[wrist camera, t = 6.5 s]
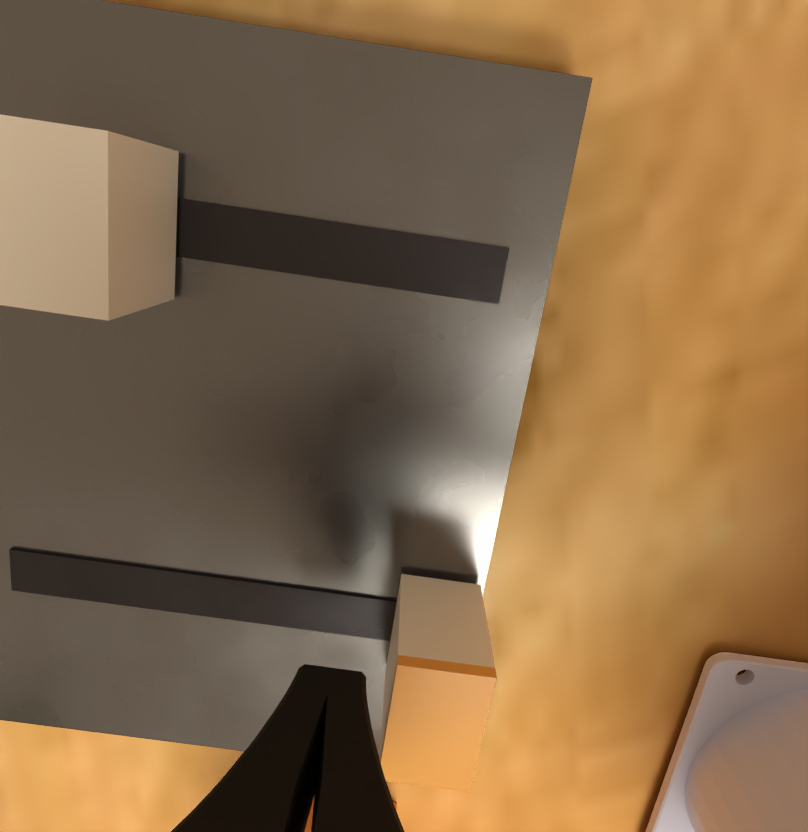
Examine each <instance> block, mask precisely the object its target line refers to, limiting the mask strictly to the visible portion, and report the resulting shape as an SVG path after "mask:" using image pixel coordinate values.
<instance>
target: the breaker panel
mask: <svg viewBox="0 0 808 832" xmlns="http://www.w3.org/2000/svg"><path fill="white" fill-rule="evenodd" d="M591 83H592V78H589V77H583V76H577V75H570V74H564V73H558V72H552V71H545V70H539V69H533V68H526V67H520V66H514V65H507V64H501V63H495V62H488V61H482V60H476V59H469V58H463V57H457V56H450V55H444V54H438V53H431V52H425V51H419V50H412V49H406V48H400V47H393V46H387V45H381V44H374V43H368V42H362V41H355V40H349V39H343V38H336V37H330V36H324V35H317V34H311V33H305V32H298V31H292V30H286V29H279V28H273V27H267V26H260V25H254V24H248V23H241V22H235V21H229V20H222V19H216V18H210V17H203V16H197V15H191V14H185V13H178V12H172V11H166V10H159V9H153V8H147V7H140V6H134V5H128V4H121V3H115V2H109V1H102V0H0V114H1V115H7V116H14V117H21V118H27V119H34V120H40V121H47V122H53V123H60V124H66V125H73V126H79V127H86V128H92V129H99V130H106V131H110V132H114V133H117V134H121V135H124V136H127V137H131V138H134V139H138V140H141V141H145V142H148V143H152V144H155V145H159V146H162V147H166V148H169V149H172V150H176V151H179V159H178V193H177V228H176V262H175V297H174V300H171V301H168V302H164V303H161V304H158V305H155V306H152V307H149V308H146V309H143V310H140V311H137V312H134V313H131V314H128V315H125V316H122V317H119V318H116V319H112V320H109V321H107V320H100V319H93V318H86V317H79V316H72V315H65V314H59V313H52V312H45V311H38V310H31V309H24V308H17V307H10V306H3V305H0V720H5V721H13V722H21V723H29V724H36V725H44V726H52V727H60V728H68V729H75V730H83V731H91V732H99V733H107V734H114V735H122V736H130V737H138V738H145V739H153V740H161V741H169V742H177V743H184V744H192V745H200V746H208V747H215V748H223V749H231V750H239V751H245V750H246V749H247V748H248V747H249V745H250V744H251V743H252V741H253V740H254V739H255V737H256V736H257V735H258V733H259V732H260V730H261V729H262V728H263V726H264V725H265V723H266V722H267V721H268V719H269V718H270V716H271V715H272V714H273V712H274V711H275V709H276V708H277V706H278V704H279V703H280V701H281V700H282V698H283V697H284V695H285V693H286V692H287V690H288V688H289V686H290V685H291V683H292V681H293V679H294V677H295V675H296V673H297V671H298V669H299V667H301V666H302V665H304V664H308V665H316V666H323V667H330V668H338V669H345V670H352V671H360V672H363V674H364V675H365V676H366V693H367V702H368V709H369V715H370V721H371V726H372V731H373V735H374V739H375V743H376V747H377V751H378V755H379V756H380V742H381V727H382V713H383V698H384V684H385V671H386V665H387V659H388V652H389V646H390V640H391V634H392V628H393V622H394V616H395V610H396V603H397V597H398V591H399V585H400V579H401V574H406V575H413V576H421V577H428V578H435V579H443V580H450V581H457V582H465V583H472V584H479V585H481V591H482V596H483V591H484V587H485V582H486V577H487V573H488V568H489V563H490V558H491V554H492V549H493V544H494V540H495V535H496V530H497V525H498V521H499V516H500V511H501V507H502V502H503V497H504V492H505V488H506V483H507V478H508V474H509V469H510V464H511V459H512V455H513V450H514V445H515V441H516V436H517V431H518V427H519V422H520V417H521V412H522V408H523V403H524V398H525V394H526V389H527V384H528V379H529V375H530V370H531V365H532V361H533V356H534V351H535V346H536V342H537V337H538V332H539V328H540V323H541V318H542V313H543V309H544V304H545V299H546V295H547V290H548V285H549V280H550V276H551V271H552V266H553V262H554V257H555V252H556V248H557V243H558V238H559V233H560V229H561V224H562V219H563V215H564V210H565V205H566V200H567V196H568V191H569V186H570V182H571V177H572V172H573V167H574V163H575V158H576V153H577V149H578V144H579V139H580V134H581V130H582V125H583V120H584V116H585V111H586V106H587V101H588V97H589V92H590V87H591Z"/></svg>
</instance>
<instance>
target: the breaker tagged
mask: <svg viewBox="0 0 808 832" xmlns="http://www.w3.org/2000/svg"><path fill="white" fill-rule="evenodd" d="M496 679H497V677H496V671H495V665H494V660H493V654H492V648H491V642H490V637H489V631H488V625H487V620H486V614H485V608H484V602H483V597H482V591H481V585H479V584H472V583H465V582H457V581H450V580H443V579H435V578H428V577H421V576H413V575H406V574H401V579H400V585H399V591H398V597H397V603H396V610H395V616H394V622H393V628H392V634H391V640H390V646H389V652H388V659H387V665H386V671H385V684H384V698H383V713H382V727H381V742H380V756H379V759H380V763H381V766H382V770H383V773H384V776H385V780H386V781H387V782H395V783H403V784H410V785H418V786H426V787H434V788H442V789H449V790H457V791H465V792H471V787H472V783H473V779H474V774H475V770H476V766H477V761H478V757H479V753H480V749H481V744H482V740H483V736H484V731H485V727H486V723H487V718H488V714H489V710H490V705H491V701H492V697H493V692H494V688H495V684H496Z"/></svg>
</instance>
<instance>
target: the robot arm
mask: <svg viewBox="0 0 808 832" xmlns="http://www.w3.org/2000/svg"><path fill="white" fill-rule="evenodd" d="M742 670H746V671H745V672H744V673H742V674H740V675H737V673H738V672H740V671H742ZM313 798H314V804H313V815H312V827H311V832H404V830H403V827H402V825H401V822H400V820H399V817H398V814H397V812H396V809H395V806H394V803H393V801H392V798H391V795H390V792H389V789H388V786H387V783H386V780H385V776H384V773H383V770H382V766H381V763H380V759H379V755H378V751H377V747H376V743H375V739H374V735H373V731H372V726H371V721H370V715H369V709H368V702H367V693H366V676H365V675H364V674H363V672H360V671H352V670H345V669H338V668H330V667H323V666H316V665H308V664H304V665H302V666H301V667H299V669H298V671H297V673H296V675H295V677H294V679H293V681H292V683H291V685H290V686H289V688H288V690H287V692H286V693H285V695H284V697H283V698H282V700H281V701H280V703H279V704H278V706H277V708H276V709H275V711H274V712H273V714H272V715H271V716H270V718H269V719H268V721H267V722H266V723H265V725H264V726H263V728H262V729H261V730H260V732H259V733H258V735H257V736H256V737H255V739H254V740H253V741H252V743H251V744H250V745H249V747H248V748H247V749H246V750H245V751H244V753H243V754H242V755H241V756H240V758H239V759H238V760H237V761H236V763H235V764H234V765H233V766H232V768H231V769H230V770H229V771H228V772H227V774H226V775H225V776H224V777H223V778H222V779H221V781H220V782H219V783H218V784H217V785H216V786H215V787H214V788H213V789H212V791H211V792H210V793H209V794H208V795H207V796H206V797H205V798H204V799H203V800H202V801H201V802H200V803H199V804H198V805H197V807H196V808H195V809H194V810H193V811H192V812H191V813H190V814H189V815H188V816H187V817H186V818H185V819H184V820H183V821H181V822H180V823H179V824H178V825H177V826H176V827H175V828H174V829H173V830H172V831H171V832H305V828H306V825H307V821H308V817H309V813H310V810H311V806H312V802H313ZM645 832H808V663H804V662H796V661H789V660H781V659H774V658H767V657H759V656H752V655H744V654H737V653H730V652H720V653H717V654H714V655H712V656H711V657H710V658H709V659H708V660H707V661H706V663H705V665H704V668H703V671H702V674H701V676H700V679H699V682H698V685H697V688H696V691H695V693H694V696H693V699H692V702H691V705H690V707H689V710H688V713H687V716H686V719H685V722H684V724H683V727H682V730H681V733H680V736H679V738H678V741H677V744H676V747H675V750H674V753H673V755H672V758H671V761H670V764H669V767H668V769H667V772H666V775H665V778H664V781H663V784H662V786H661V789H660V792H659V795H658V798H657V800H656V803H655V806H654V809H653V812H652V814H651V817H650V820H649V823H648V826H647V829H646V831H645Z"/></svg>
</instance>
